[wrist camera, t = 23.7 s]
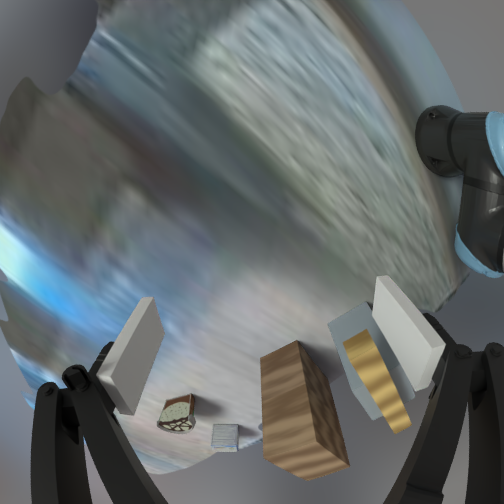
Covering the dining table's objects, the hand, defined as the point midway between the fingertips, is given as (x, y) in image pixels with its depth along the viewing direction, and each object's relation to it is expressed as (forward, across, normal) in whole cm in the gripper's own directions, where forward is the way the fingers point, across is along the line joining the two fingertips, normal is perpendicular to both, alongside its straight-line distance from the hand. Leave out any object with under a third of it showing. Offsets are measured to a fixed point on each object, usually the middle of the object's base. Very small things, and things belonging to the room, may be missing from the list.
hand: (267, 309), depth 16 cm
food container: (+37, -26, -56) cm, 72 cm away
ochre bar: (+16, +19, -30) cm, 39 cm away
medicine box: (+37, -16, -70) cm, 81 cm away
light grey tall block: (+37, +21, -34) cm, 54 cm away
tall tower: (+37, +6, -44) cm, 58 cm away
